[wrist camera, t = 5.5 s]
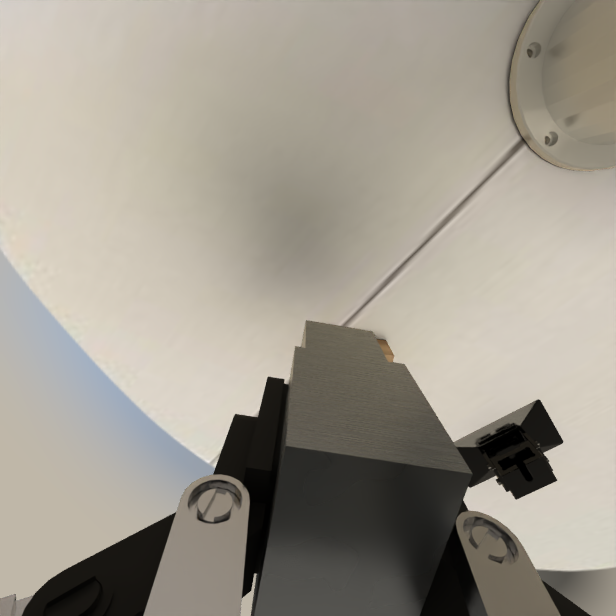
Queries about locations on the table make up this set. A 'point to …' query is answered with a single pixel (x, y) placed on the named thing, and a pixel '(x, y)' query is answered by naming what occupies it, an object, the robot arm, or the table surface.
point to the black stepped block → (513, 450)
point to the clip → (356, 485)
